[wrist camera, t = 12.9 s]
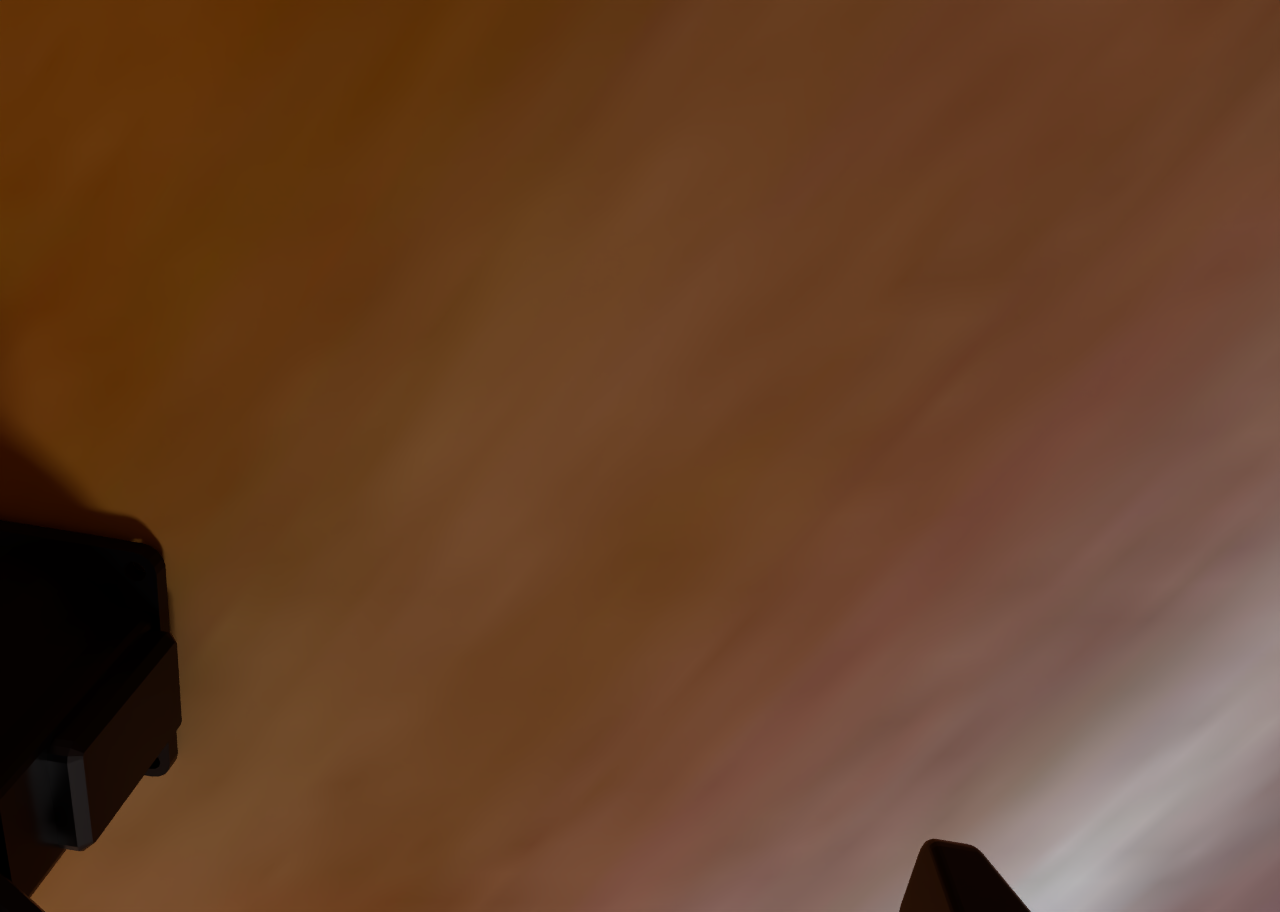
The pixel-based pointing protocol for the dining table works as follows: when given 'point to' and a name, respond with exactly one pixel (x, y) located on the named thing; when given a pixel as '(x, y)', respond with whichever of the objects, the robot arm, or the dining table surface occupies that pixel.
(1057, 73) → the dining table surface
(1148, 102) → the dining table surface
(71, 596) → the robot arm
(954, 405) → the dining table surface
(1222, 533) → the dining table surface
